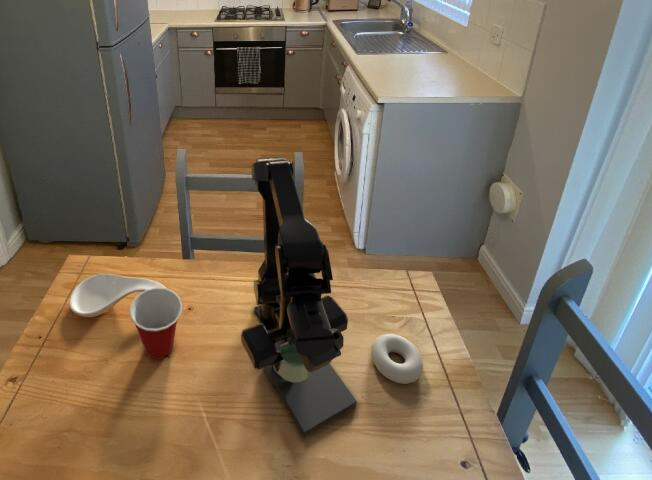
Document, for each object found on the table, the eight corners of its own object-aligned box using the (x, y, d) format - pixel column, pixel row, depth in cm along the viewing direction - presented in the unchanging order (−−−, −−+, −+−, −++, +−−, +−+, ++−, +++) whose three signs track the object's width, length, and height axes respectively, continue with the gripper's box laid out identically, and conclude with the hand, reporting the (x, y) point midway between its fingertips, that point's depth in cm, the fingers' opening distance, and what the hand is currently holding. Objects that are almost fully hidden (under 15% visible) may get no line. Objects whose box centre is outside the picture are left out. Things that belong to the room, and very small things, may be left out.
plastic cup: (194, 353, 90) (191, 313, 85) (146, 380, 85) (140, 339, 80) (172, 316, 98) (169, 277, 94) (128, 338, 93) (122, 299, 89)
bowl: (267, 356, 79) (268, 339, 77) (298, 342, 81) (299, 326, 79) (286, 390, 73) (287, 373, 71) (319, 374, 75) (321, 357, 74)
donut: (373, 383, 84) (427, 392, 82) (374, 371, 82) (429, 380, 80) (367, 337, 93) (416, 345, 91) (369, 326, 91) (418, 333, 89)
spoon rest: (64, 325, 96) (58, 303, 94) (81, 284, 107) (77, 263, 104) (166, 326, 96) (164, 304, 93) (173, 285, 107) (171, 263, 104)
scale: (260, 369, 86) (260, 359, 85) (312, 344, 91) (313, 334, 90) (299, 439, 75) (300, 429, 73) (356, 406, 80) (358, 395, 78)
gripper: (272, 364, 60) (270, 430, 66) (374, 317, 67) (363, 381, 73) (239, 304, 70) (239, 366, 76) (331, 268, 76) (325, 328, 83)
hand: (293, 361), depth 77 cm, fingers closed on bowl, 7 cm apart
